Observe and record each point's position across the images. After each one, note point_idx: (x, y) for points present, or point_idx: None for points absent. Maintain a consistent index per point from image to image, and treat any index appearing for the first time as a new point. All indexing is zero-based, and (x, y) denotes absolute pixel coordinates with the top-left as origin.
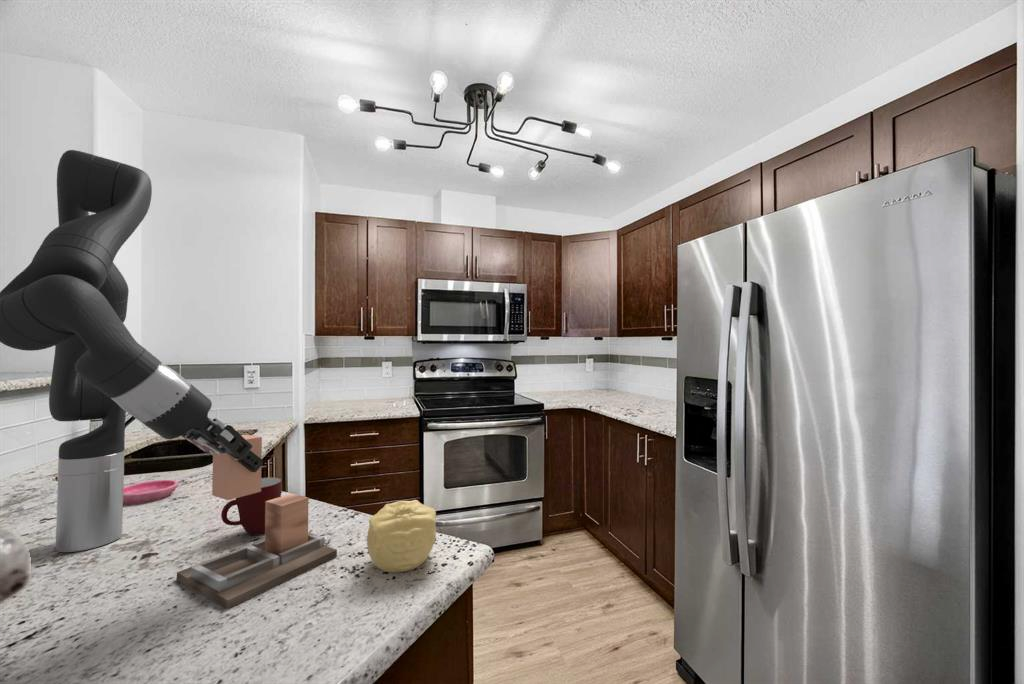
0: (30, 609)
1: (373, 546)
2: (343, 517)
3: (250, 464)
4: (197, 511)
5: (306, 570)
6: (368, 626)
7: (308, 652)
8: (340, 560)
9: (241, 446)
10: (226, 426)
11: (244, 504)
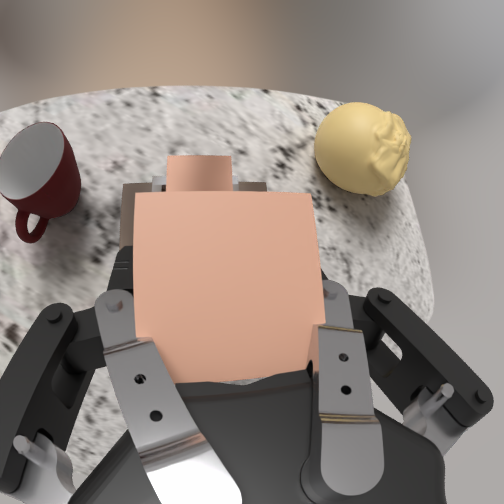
0: (75, 461)
1: (376, 193)
2: (144, 102)
3: None
4: None
5: None
6: (410, 268)
7: None
8: (277, 191)
9: (362, 324)
10: (484, 415)
11: (45, 207)
